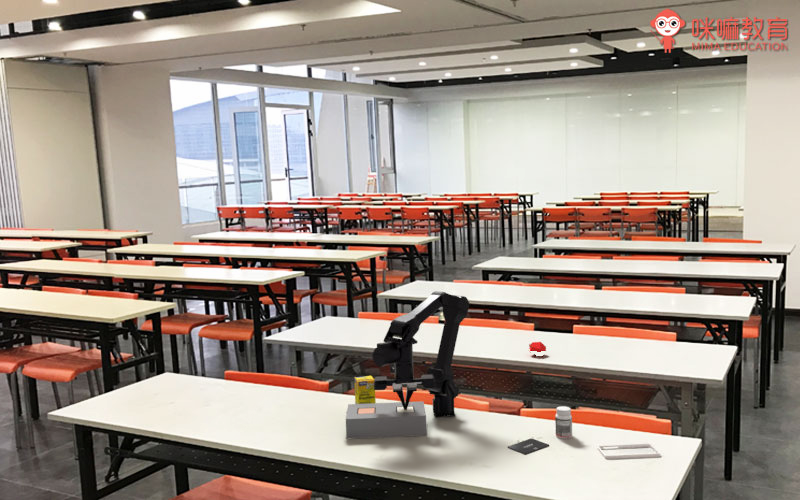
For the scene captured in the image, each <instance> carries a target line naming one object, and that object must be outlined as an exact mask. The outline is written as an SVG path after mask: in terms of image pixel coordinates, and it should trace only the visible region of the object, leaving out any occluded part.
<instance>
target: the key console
mask: <svg viewBox="0 0 800 500" xmlns="http://www.w3.org/2000/svg"><path fill="white" fill-rule="evenodd" d="M412 406H413V410H414V412H397V407H403V405H402V403H401V401H400V402H377V403H370V404H355V403H352V404H351V403H350V404H349V403H348V404H347V411H346V415H345V433H346V435H345V437H346V439H348V440H349V439H368V438H369V439H372V438H396V437H418V436H420V437H421V436H427V433H428V431H427V414H426V409H425V403H424V401H423V400H422V401H409V404H408V407H412ZM361 408H375V413H371V414H358V410H359V409H361Z"/></svg>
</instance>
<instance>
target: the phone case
mask: <svg viewBox="0 0 800 500" xmlns="http://www.w3.org/2000/svg"><path fill="white" fill-rule="evenodd" d="M596 447H597V448H596V449H597V451H598V453H600V454H601V456H602V457H603V458H604V459H607V460H615V459H616V460H617V459H618V460H619V459H637V458H659V457H661V452H660V451H659V450H658V449H656V447H654V446H653V445H652V444H651V443H635V444H634V443H631V444H612V445H610V444H609V445H605V444H604V445H597V446H596ZM615 447H616V448H618V449H628V448H629V449H630V448H650V449H653V450H654V451H655V452H654V453H632V454H606V453H604V451H603V450H604V449H605V448H615Z"/></svg>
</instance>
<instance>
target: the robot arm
mask: <svg viewBox="0 0 800 500" xmlns="http://www.w3.org/2000/svg"><path fill="white" fill-rule="evenodd" d="M441 307H442V310H441V311H442V314H443V318H444V323H443V328H442V329H443V330H442V333H441V337H440V342H439V347H438V352H437V357H436V361H435V364H433V366H432V367H430V366H429V367H428V369H427V372H426V374H421V377H420V378H419V377H417V378H415V377H414V355H413V354H414V351H413V350H414V349H413V347H414V346H413V345H415V344H418V340H416V339H415V338H414V337H415V335H416V334H417V333H418V332H419V330H420V327H421V324H422V323H424V322H425V321H426V320H428V319H429V318H430V317H431V316H432V315H433V314H434V313H435V312H437V311H438V310H439V309H440V308H441ZM469 308H470V301H469V299H468V297H466V296H463V295H456V294H454V295H453V294H450V293H447V292H446V291H445V292H444V291H436V290H435V291H433V292H432V293H430V295H429V297H428V298H426V299H424V300H423V301H422V302H421V303H420V304H418V305H417V306H416V307H415V308H414V309H413V310H411V311H410V312H409V313H406V314H405V313H404V314H402V315H399V316H397V317H395V318H394V319H393V320H391V322H390V323H389V324H390V325H389V328H388V330H387V331H386V334H385V336H384V338H383V342H378V343H376V348H374V350H373V352H372V354H371V355H372V360H373V363H374V364H375V365H376V366H377V367H379V368H380V367H385V366H387V365H389V369H390V371H389V373H390V375H391V374H392V375H393V374H394V378H393V379H392V378H391V379H387V375H386V376H385V375H384V376H382V375H381V376H375V377H373V379H374V390H375V391H385V390H386V389H387V388H388V386H389V387H392V392H393V393H396V394H397V396H398V398H399V399H400V402H401V403H402V405H403V408H404V410H407V407H408V404H409V402H411V401H410V400H411V398H412V396H413V393H414V392H417V391H418V390H417V389H418V388H417V386H419V385H422V387H423V388H425V389H428V392H429V394H430V395H433V398H432V400H431V401H432V413H433V414H434V417H436V418H438V417H455V416H456V413H455V398H457V397H458V396H459V393H460V389H459V387H458V386H457V385H456V384H455V383H454V373H453V369H452V362H453V357H454V353H455V348H456V344H457V338H458V335H459V329H460V325H461V323H462V322H463V321H464V320H465V318H466V317H467V314H468V313H469V312H468V311H469ZM403 386H406V389H405V390H406V391H405V393H406V394H404V389H403ZM404 395H405V396H404Z"/></svg>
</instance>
